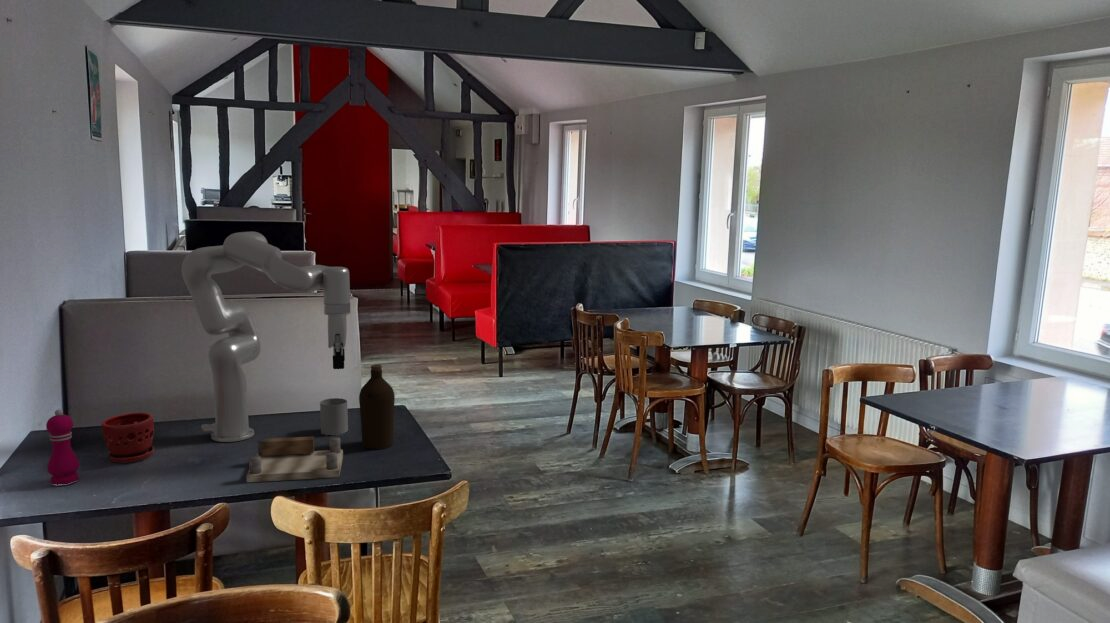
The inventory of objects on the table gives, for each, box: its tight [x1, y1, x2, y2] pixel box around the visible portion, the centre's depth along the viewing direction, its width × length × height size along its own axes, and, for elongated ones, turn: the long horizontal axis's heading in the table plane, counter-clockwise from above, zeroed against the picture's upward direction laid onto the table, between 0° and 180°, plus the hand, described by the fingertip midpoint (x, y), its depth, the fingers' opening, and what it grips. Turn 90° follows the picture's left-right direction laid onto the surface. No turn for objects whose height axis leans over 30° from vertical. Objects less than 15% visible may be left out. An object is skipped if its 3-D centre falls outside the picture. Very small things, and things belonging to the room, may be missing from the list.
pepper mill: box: [46, 408, 80, 485], centre depth 206 cm, size 7×7×20 cm
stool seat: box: [246, 436, 344, 483], centre depth 220 cm, size 24×17×6 cm
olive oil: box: [358, 364, 396, 450], centre depth 240 cm, size 11×11×25 cm
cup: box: [319, 397, 349, 436], centre depth 253 cm, size 8×8×10 cm
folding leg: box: [257, 435, 315, 456], centre depth 225 cm, size 15×3×4 cm, turn 102°
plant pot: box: [101, 412, 155, 464], centre depth 226 cm, size 13×13×12 cm
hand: (339, 365), depth 234 cm, fingers open, 9 cm apart
